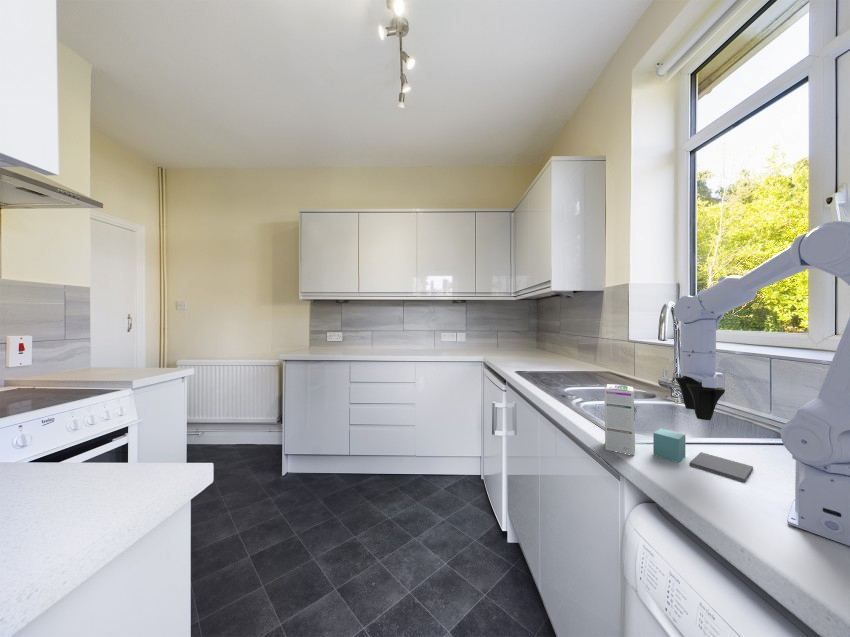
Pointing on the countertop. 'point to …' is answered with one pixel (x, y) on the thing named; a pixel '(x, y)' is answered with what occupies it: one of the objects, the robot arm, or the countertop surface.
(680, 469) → the countertop surface
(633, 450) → the syrup box
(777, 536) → the countertop surface
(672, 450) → the teal block
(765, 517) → the countertop surface
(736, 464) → the mat
